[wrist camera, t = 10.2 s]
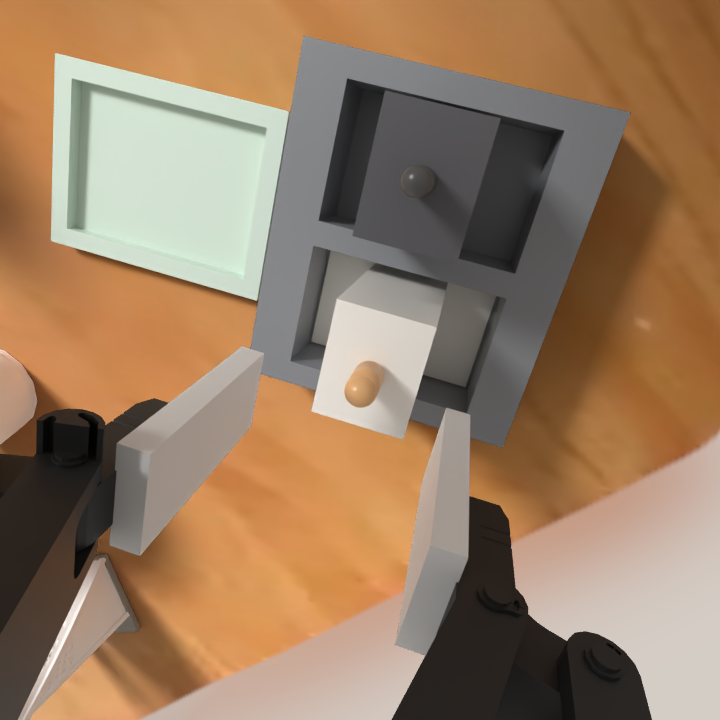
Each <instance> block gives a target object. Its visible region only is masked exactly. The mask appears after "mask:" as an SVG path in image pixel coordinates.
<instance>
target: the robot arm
mask: <svg viewBox="0 0 720 720" xmlns="http://www.w3.org/2000/svg"><path fill="white" fill-rule="evenodd" d="M263 358H264V353H262V352H259V351H256V350H252V349H249V348H245V347H241V348H239V349H238V350H237V351H236V352H234V353H233V354H232V355H230V356H229V357H228V358H226V359H225V360H224V361H223V362H221V363H220V364H219V365H217V366H216V367H215V368H214V369H212V370H211V371H210V372H208V373H207V374H206V375H204V376H203V377H202V378H201V379H199V380H198V381H197V382H195V383H194V384H193V385H191V386H190V387H189V388H188V389H186V390H185V391H184V392H182V393H181V394H180V395H179V396H177V397H176V398H175V399H173V400H172V401H171V402H169V403H167V402H164V401H161V400H158V399H155V398H154V399H150V400H147V401H144V402H141V403H137V404H135V405H134V406H133V407H131V408H130V409H128V410H127V411H125V412H124V414H121V415H120V416H118V417H117V418H115V419H114V421H113V422H112V421H111V422H110V423H108V424H107V425H105V422H104V420H103V418H102V417H101V416H99V415H97V414H95V413H94V412H90V411H86V410H82V409H64V410H56V411H53V412H50V413H47V414H44V415H43V416H42V417H40V418H39V419H37V448H36V454H35V456H34V457H26V456H16V455H6V454H0V720H18V718H19V716H20V714H21V712H22V710H23V708H24V706H25V704H26V702H27V699H28V697H29V695H30V693H31V691H32V689H33V687H34V685H35V683H36V680H37V678H38V676H39V674H40V672H41V670H42V668H43V666H44V664H45V662H46V659H47V657H48V655H49V653H50V651H51V649H52V647H53V645H54V643H55V640H56V638H57V636H58V634H59V632H60V630H61V628H62V626H63V624H64V621H65V619H66V617H67V615H68V613H69V611H70V609H71V607H72V605H73V603H74V600H75V598H76V596H77V594H78V592H79V590H80V588H81V586H82V584H83V581H84V579H85V577H86V575H87V573H88V571H89V569H90V567H91V565H92V562H93V560H94V558H95V556H96V552H97V545H98V538H99V537H100V536H101V535H102V534H103V533H104V532H105V531H106V530H107V529H108V528H109V527H110V526H111V528H110V542H109V546H112V547H115V548H118V549H121V550H124V551H127V552H129V553H132V554H135V555H138V556H140V555H141V554H142V553H143V552H144V551H145V550H146V548H147V547H148V546H149V545H150V544H151V543H152V542H153V540H154V539H155V538H156V537H157V536H158V535H159V533H160V532H161V531H162V530H163V529H164V528H165V526H166V525H167V524H168V523H169V522H170V521H171V519H172V518H173V517H174V516H175V515H176V514H177V512H178V511H179V510H180V509H181V508H182V507H183V505H184V504H185V503H186V502H187V501H188V500H189V498H190V497H191V496H192V495H193V494H194V493H195V491H196V490H197V489H198V488H199V487H200V486H201V485H202V483H203V482H204V481H205V480H206V479H207V478H208V476H209V475H210V474H211V473H212V472H213V471H214V469H215V468H216V467H217V466H218V465H219V464H220V462H221V461H222V460H223V459H224V458H225V457H226V455H227V454H228V453H229V452H230V451H231V450H232V448H233V447H234V446H235V445H236V444H237V443H238V441H239V440H240V439H241V438H242V437H243V436H244V434H245V433H246V432H247V431H248V430H249V429H250V427H251V425H252V419H253V413H254V408H255V402H256V397H257V391H258V386H259V380H260V374H261V369H262V363H263ZM469 476H470V415H469V414H466V413H463V412H459V411H456V410H453V409H449V408H446V410H445V413H444V416H443V419H442V422H441V425H440V428H439V431H438V434H437V437H436V440H435V444H434V447H433V450H432V453H431V456H430V459H429V462H428V465H427V468H426V471H425V474H424V477H423V480H422V486H421V492H420V498H419V504H418V510H417V516H416V522H415V528H414V534H413V540H412V546H411V552H410V558H409V564H408V570H407V576H406V582H405V588H404V595H403V601H402V607H401V613H400V619H399V625H398V631H397V637H396V643H395V645H397V646H400V647H403V648H406V649H408V650H411V651H414V652H417V653H420V654H423V655H426V656H425V658H424V660H423V662H422V663H421V665H420V667H419V669H418V671H417V673H416V675H415V677H414V679H413V680H412V682H411V684H410V686H409V688H408V690H407V692H406V694H405V695H404V697H403V699H402V701H401V703H400V705H399V707H398V709H397V711H396V712H395V714H394V716H393V718H392V720H652V719H651V714H650V711H649V707H648V703H647V699H646V696H645V691H644V688H643V684H642V680H641V676H640V674H639V672H638V670H637V668H636V666H635V664H634V663H633V661H632V660H631V659H630V658H629V656H628V655H627V654H626V653H625V652H624V651H623V650H622V649H621V648H619V647H618V646H617V645H616V644H614V643H613V642H612V641H610V640H608V639H606V638H604V637H602V636H600V635H598V634H595V633H590V632H577V633H574V634H573V635H572V636H571V637H570V638H569V639H568V641H566V640H564V639H562V638H561V637H559V636H557V635H556V634H554V633H552V632H551V631H549V630H547V629H546V628H544V627H543V626H541V625H540V624H539V623H537V622H536V621H535V620H534V619H533V618H532V617H531V616H530V615H528V606H527V604H526V602H525V599H524V597H523V596H522V595H521V594H520V593H519V591H518V590H517V589H516V588H515V578H514V568H513V558H512V549H511V538H510V528H509V520H508V518H507V517H506V515H505V513H504V512H503V510H502V509H501V507H500V506H499V505H496V504H493V503H490V502H486V501H483V500H480V499H477V498H474V497H470V496H469Z"/></svg>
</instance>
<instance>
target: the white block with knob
mask: <svg viewBox="0 0 720 720" xmlns="http://www.w3.org/2000/svg"><path fill="white" fill-rule="evenodd" d="M447 284H448V282H444V281H440V280H437V279H433V278H429V277H426V276H422V275H419V274H415V273H411V272H408V271H404V270H400V269H397V268H393V267H390V266H386V265H382V264H379V263H375V264H374V265H373V266H372V267H371V268H370V269H369V270H368V271H366V272H365V273H364V274H363V275H362V276H361V277H360V278H359V279H358V280H357V281H356V282H355V283H353V284H352V285H351V286H350V287H349V288H348V289H347V290H346V291H345V292H344V293H343V294H342V295H340V296H339V297H338V298H337V300H336V305H335V309H334V314H333V318H332V322H331V327H330V331H329V336H328V340H327V345H326V349H325V353H324V358H323V362H322V367H321V371H320V376H319V380H318V385H317V389H316V393H315V398H314V402H313V407H312V412H315V413H319V414H322V415H325V416H328V417H331V418H335V419H338V420H341V421H344V422H348V423H351V424H354V425H357V426H361V427H364V428H367V429H370V430H373V431H377V432H380V433H383V434H386V435H390V436H393V437H396V438H399V439H402V440H403V438H404V435H405V432H406V428H407V425H408V422H409V418H410V415H411V412H412V408H413V405H414V402H415V398H416V395H417V392H418V389H419V385H420V382H421V379H422V375H423V372H424V369H425V365H426V362H427V359H428V355H429V352H430V349H431V346H432V342H433V339H434V336H435V332H436V329H437V325H438V321H439V317H440V313H441V309H442V305H443V301H444V297H445V293H446V289H447Z"/></svg>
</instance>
